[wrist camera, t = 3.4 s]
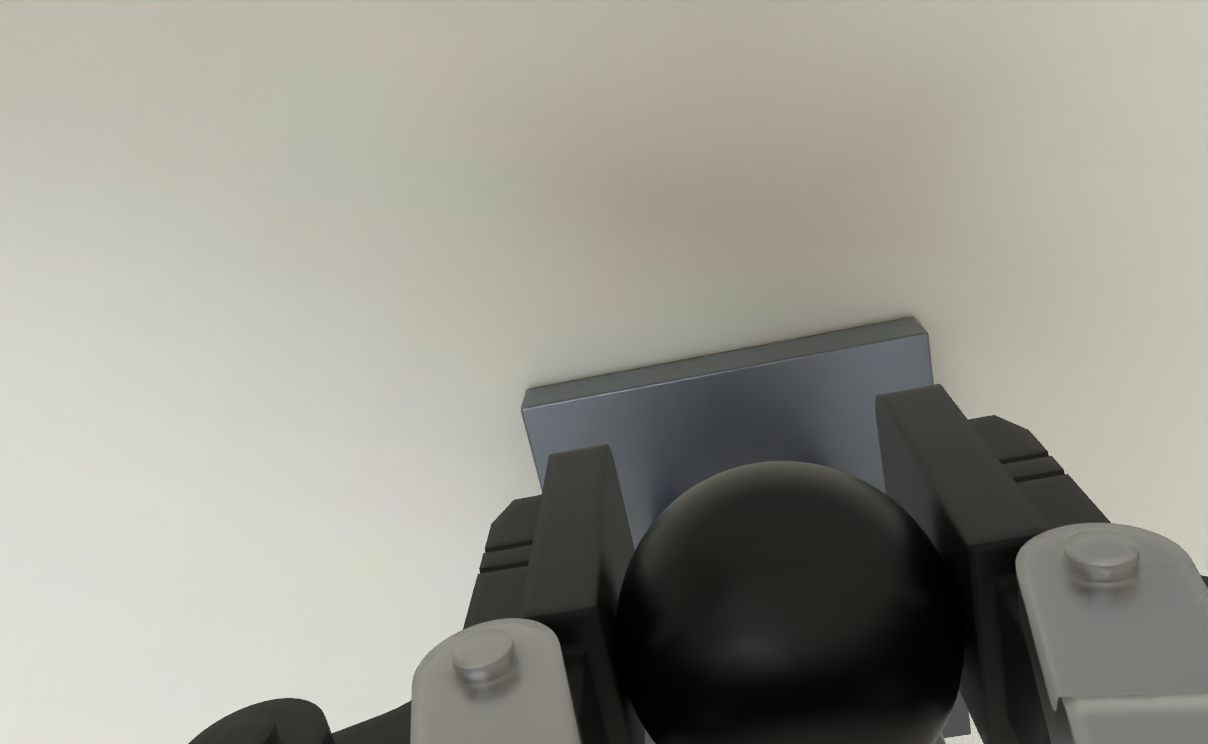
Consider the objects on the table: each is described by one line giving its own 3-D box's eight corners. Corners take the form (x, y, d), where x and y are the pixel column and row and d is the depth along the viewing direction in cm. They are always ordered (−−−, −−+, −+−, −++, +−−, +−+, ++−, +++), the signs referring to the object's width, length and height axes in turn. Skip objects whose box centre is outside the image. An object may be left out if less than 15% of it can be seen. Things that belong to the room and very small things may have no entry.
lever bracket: (525, 389, 26) (417, 774, 13) (914, 315, 25) (1203, 657, 12) (619, 754, 30) (606, 1319, 17) (957, 704, 29) (1209, 1265, 16)
